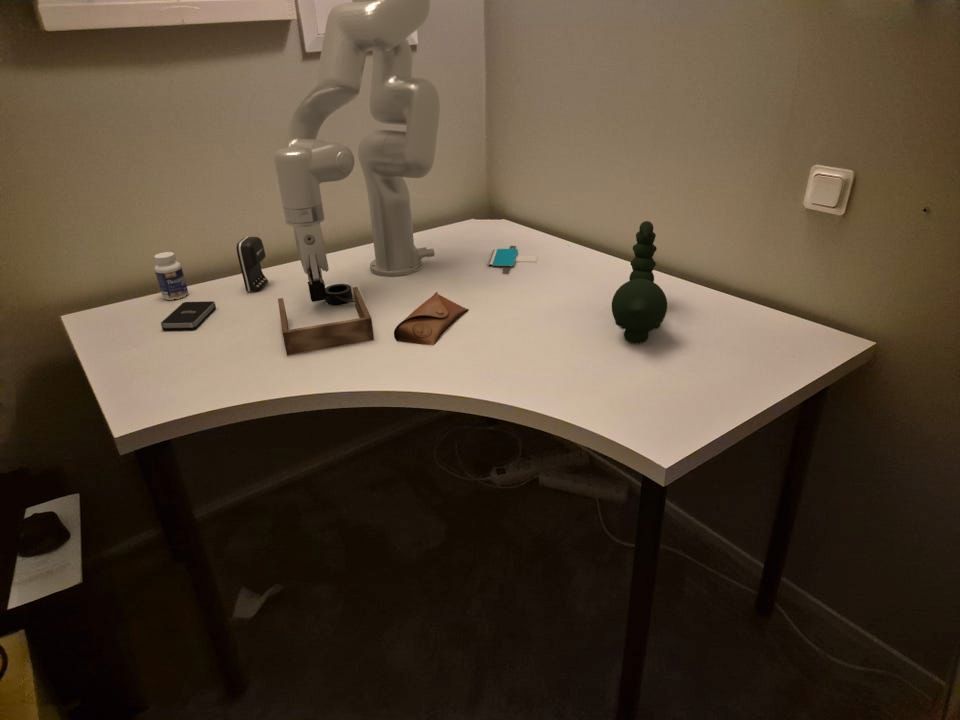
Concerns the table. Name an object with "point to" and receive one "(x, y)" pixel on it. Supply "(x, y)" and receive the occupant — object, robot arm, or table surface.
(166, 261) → the pill bottle
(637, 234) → the dark green bulbous piece
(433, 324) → the sunglasses case
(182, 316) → the external hard drive
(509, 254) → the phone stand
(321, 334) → the cubby
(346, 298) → the black lugged cup
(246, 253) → the battery charger
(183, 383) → the table surface
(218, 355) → the table surface
